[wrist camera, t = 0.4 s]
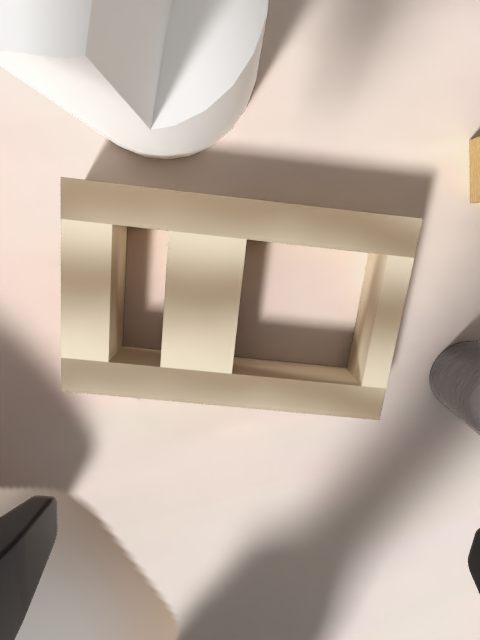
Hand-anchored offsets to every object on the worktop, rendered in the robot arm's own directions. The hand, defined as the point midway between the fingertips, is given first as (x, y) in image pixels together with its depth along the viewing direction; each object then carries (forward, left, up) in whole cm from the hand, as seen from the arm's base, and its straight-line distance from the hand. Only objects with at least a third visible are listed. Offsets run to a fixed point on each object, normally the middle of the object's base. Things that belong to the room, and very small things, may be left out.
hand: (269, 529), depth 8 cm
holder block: (+2, +1, -13) cm, 14 cm away
